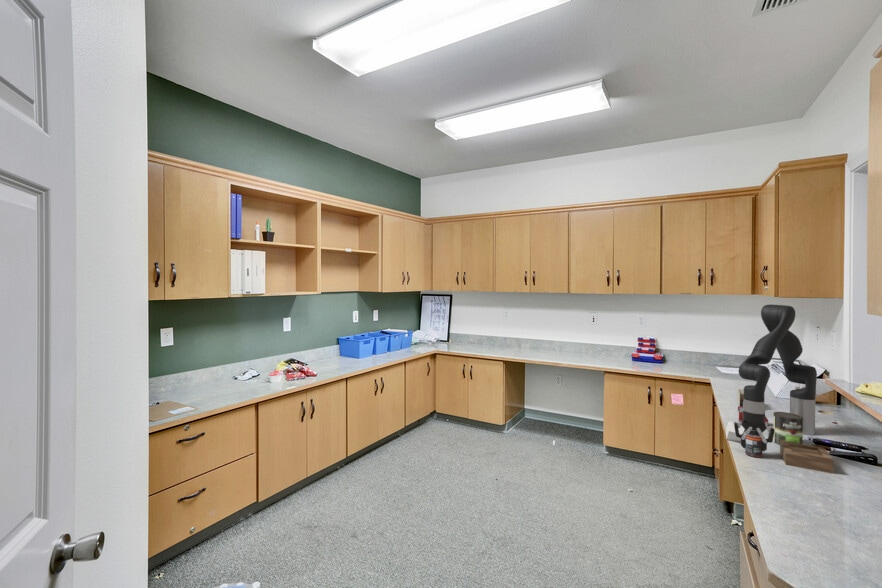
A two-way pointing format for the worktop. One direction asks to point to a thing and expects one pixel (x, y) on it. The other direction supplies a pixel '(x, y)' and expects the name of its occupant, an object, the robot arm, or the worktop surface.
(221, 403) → the worktop surface
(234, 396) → the worktop surface
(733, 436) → the white cube
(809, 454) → the walnut block
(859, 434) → the worktop surface
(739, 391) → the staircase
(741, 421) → the toy fire truck
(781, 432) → the coffee can
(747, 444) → the supplement bottle
